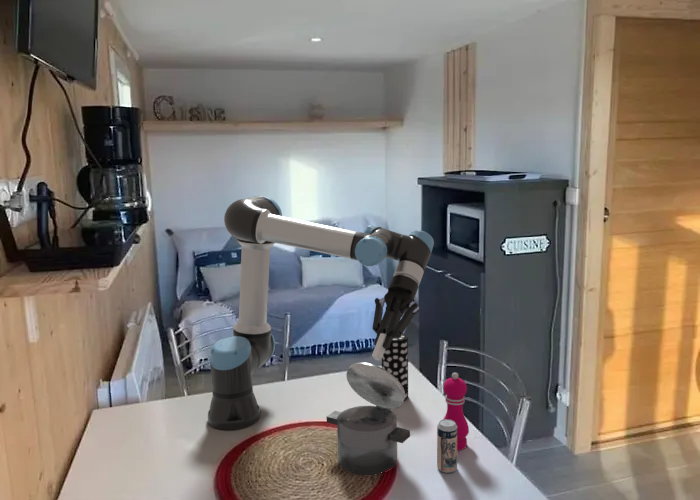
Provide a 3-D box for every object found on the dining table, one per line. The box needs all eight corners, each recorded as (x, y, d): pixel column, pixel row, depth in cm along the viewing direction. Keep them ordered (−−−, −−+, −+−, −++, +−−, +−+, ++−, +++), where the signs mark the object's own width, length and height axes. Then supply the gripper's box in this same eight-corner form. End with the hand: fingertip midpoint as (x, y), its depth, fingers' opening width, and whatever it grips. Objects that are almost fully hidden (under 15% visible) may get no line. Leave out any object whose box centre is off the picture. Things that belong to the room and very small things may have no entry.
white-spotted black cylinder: (409, 402, 179) (409, 340, 176) (382, 402, 179) (381, 341, 176) (407, 391, 187) (406, 332, 184) (381, 392, 187) (380, 332, 184)
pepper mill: (468, 452, 148) (469, 378, 145) (440, 450, 150) (440, 377, 146) (468, 439, 155) (469, 368, 152) (441, 437, 157) (441, 367, 153)
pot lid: (338, 361, 146) (343, 352, 148) (357, 403, 156) (362, 395, 157) (394, 372, 138) (399, 363, 139) (410, 416, 147) (414, 407, 149)
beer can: (444, 476, 138) (444, 429, 136) (433, 466, 142) (433, 420, 140) (460, 471, 140) (461, 424, 138) (450, 462, 144) (450, 416, 142)
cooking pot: (315, 461, 146) (313, 420, 144) (347, 436, 158) (346, 398, 156) (391, 486, 134) (391, 442, 132) (420, 457, 146) (419, 416, 145)
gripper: (431, 291, 156) (404, 369, 145) (389, 286, 163) (359, 360, 152) (423, 275, 151) (393, 355, 140) (380, 271, 158) (348, 347, 147)
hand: (376, 358), depth 146 cm, fingers closed
